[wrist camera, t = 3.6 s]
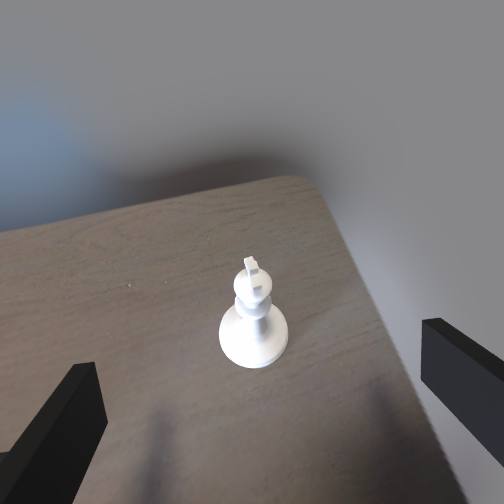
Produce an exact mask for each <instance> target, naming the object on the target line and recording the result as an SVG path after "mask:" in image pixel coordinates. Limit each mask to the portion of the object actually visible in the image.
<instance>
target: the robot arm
mask: <svg viewBox="0 0 504 504" xmlns="http://www.w3.org/2000/svg"><path fill="white" fill-rule="evenodd" d="M421 380H422V381H423V382H424V383H425V385H427V387H428V388H429V389H430V390H431V391H432V392H433V393H434V394H435V395H436V396H437V397H438V398H439V399H440V400H441V401H442V403H443V404H444V405H445V406H446V407H447V408H448V409H449V410H450V411H451V412H452V413H453V414H454V415H455V416H456V417H457V418H458V419H459V421H460V422H461V423H462V424H463V425H464V426H465V427H466V428H467V429H468V430H469V431H470V432H471V433H472V434H473V435H474V436H475V438H476V439H477V440H478V441H479V442H480V443H481V444H482V445H483V446H484V447H485V448H486V449H487V450H488V451H489V452H490V453H491V455H492V456H493V457H494V458H495V459H496V460H497V461H498V462H499V463H500V464H501V465H502V466H503V467H504V361H503V360H501V359H499V358H498V357H497V356H495V355H494V354H492V353H491V352H489V351H488V350H487V349H485V348H484V347H482V346H481V345H479V344H478V343H476V342H475V341H473V340H472V339H470V338H469V337H468V336H466V335H464V334H463V333H462V332H460V331H459V330H457V329H456V328H454V327H453V326H452V325H450V324H449V323H447V322H446V321H444V320H443V319H441V318H434V319H426V320H422V348H421ZM107 424H108V421H107V416H106V412H105V407H104V403H103V398H102V394H101V389H100V385H99V381H98V376H97V372H96V367H95V363H94V362H89V363H81V364H74V365H73V366H72V368H71V369H70V370H69V372H68V373H67V374H66V376H65V377H64V378H63V380H62V381H61V383H60V384H59V385H58V387H57V388H56V389H55V391H54V392H53V393H52V395H51V396H50V397H49V399H48V400H47V401H46V403H45V404H44V405H43V407H42V408H41V409H40V411H39V412H38V413H37V415H36V416H35V417H34V419H33V420H32V421H31V423H30V424H29V426H28V427H27V428H26V430H25V431H24V432H23V434H22V435H21V436H20V438H19V439H18V440H17V442H16V443H15V444H14V446H13V447H12V448H11V450H10V451H9V452H3V453H0V504H72V503H73V501H74V499H75V496H76V494H77V492H78V489H79V487H80V485H81V483H82V480H83V478H84V476H85V474H86V471H87V469H88V467H89V465H90V462H91V460H92V458H93V455H94V453H95V451H96V449H97V446H98V444H99V442H100V440H101V437H102V435H103V433H104V431H105V428H106V426H107Z"/></svg>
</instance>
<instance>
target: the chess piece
mask: <svg viewBox="0 0 504 504" xmlns="http://www.w3.org/2000/svg"><path fill="white" fill-rule="evenodd" d="M244 263H245V266H246V269H244V270H242V271H241V272H240V273H238V275H237V276H236V278H235V280H234V290H235V292H236V294H237V296H236V298H235V304H234V305H233V306H232V307H231V308H230V309H229V310H228V311H227V312H226V313H225V315H224V317H223V319H222V321H221V325H220V330H219V338H220V343H221V346H222V349H223V351H224V352H225V354H226V355H227V356H228V357H229V358H230V359H231V360H232V361H233V362H235V363H236V364H238V365H240V366H243V367H247V368H260V367H264V366H267V365H269V364H271V363H273V362H274V361H276V360H277V359H278V358H279V357H280V356H281V355H282V353H283V352H284V350H285V348H286V345H287V342H288V327H287V323H286V320H285V318H284V316H283V314H282V313H281V311H280V310H279V309H278V308H277V307H276V306H275V305H273V304H272V301H271V297H270V295H269V294H270V292H271V290H272V280H271V278H270V276H269V275H268V273H267V272H265V271H264V270H262V269H260V268H258V265H257V262H256V261H254V259H253V256H251V257H247V258H244Z"/></svg>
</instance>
